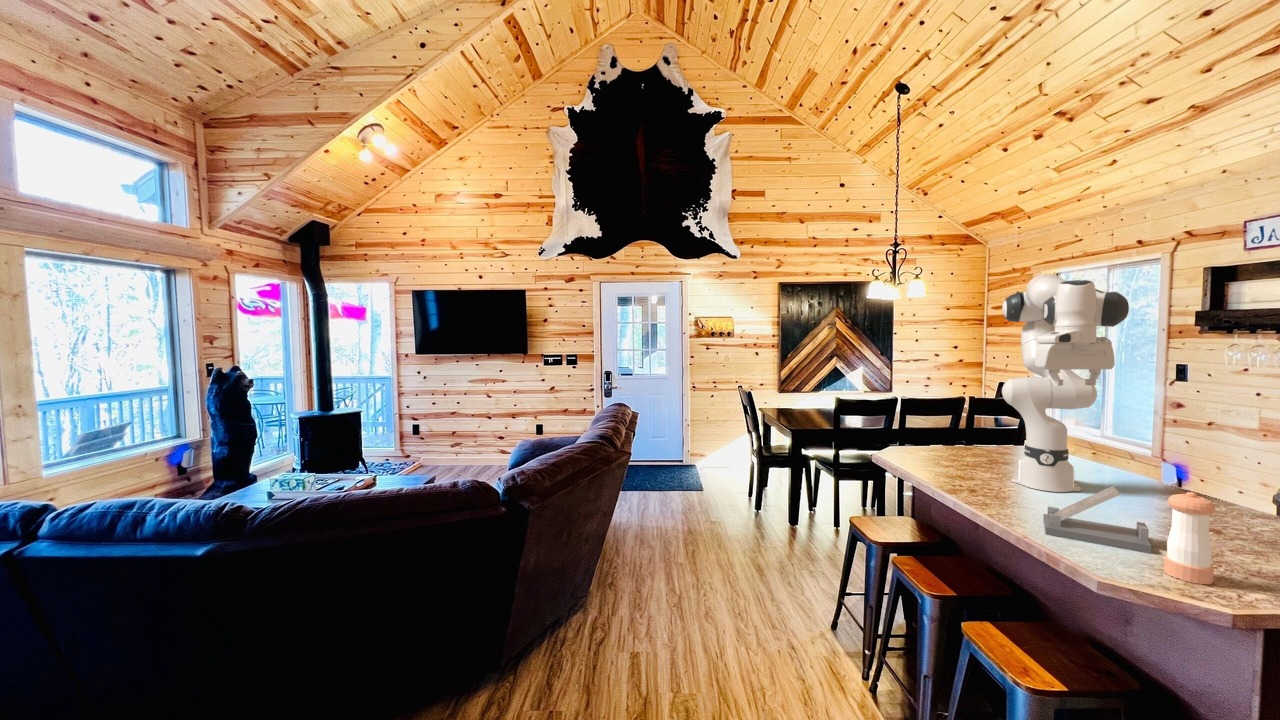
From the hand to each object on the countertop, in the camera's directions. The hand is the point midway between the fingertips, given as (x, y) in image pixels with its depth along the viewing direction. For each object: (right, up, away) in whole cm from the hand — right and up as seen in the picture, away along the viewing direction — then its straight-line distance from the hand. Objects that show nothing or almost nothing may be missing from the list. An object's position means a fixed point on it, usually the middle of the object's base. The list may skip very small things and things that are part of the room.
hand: (1074, 385), depth 137 cm
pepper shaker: (-1, -42, -29) cm, 51 cm away
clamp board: (-1, -40, -7) cm, 41 cm away
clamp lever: (-3, -33, -6) cm, 34 cm away
